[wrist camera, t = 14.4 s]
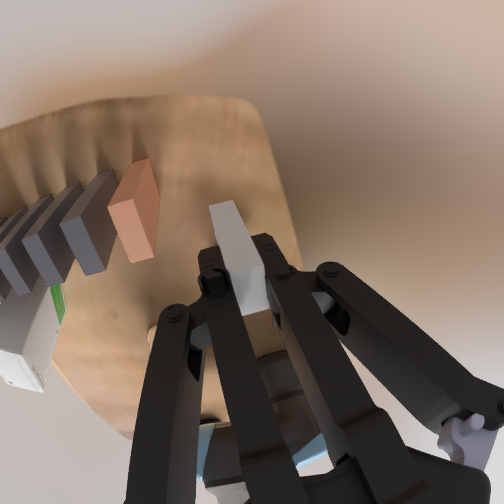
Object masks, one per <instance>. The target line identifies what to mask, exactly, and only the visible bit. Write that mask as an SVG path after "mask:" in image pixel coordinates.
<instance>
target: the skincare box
mask: <svg viewBox="0 0 504 504" xmlns="http://www.w3.org/2000/svg"><path fill="white" fill-rule="evenodd" d="M66 310H67V307H66V303H65V298H64V294H63V289H62V285H61V284H58V285H54V286H51V287H48V286H47V284H46V283H45V281H44V279H43V278H42V276H41V275H40V276H39V278H38V280H37V282H36V284H35V286H34V288H33V290H32V292H31V293H28V294H25V295H21V296H18V295H17V293H16V292H15V290H14V289H13V287H12V288H11V290H10V292H9V294H8V296H7V298H6V300H5V301H3V302H1V304H0V374H1V375H2V377H3V379H4V380H5V382H6V383H7V384H10V385H13V386H16V387H20V388H24V389H28V390H31V391H35V392H40V393H44V390H45V385H46V379H47V375H48V371H49V367H50V363H51V359H52V355H53V351H54V348H55V344H56V341H57V338H58V334H59V331H60V328H61V325H62V322H63V319H64V316H65V313H66Z"/></svg>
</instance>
